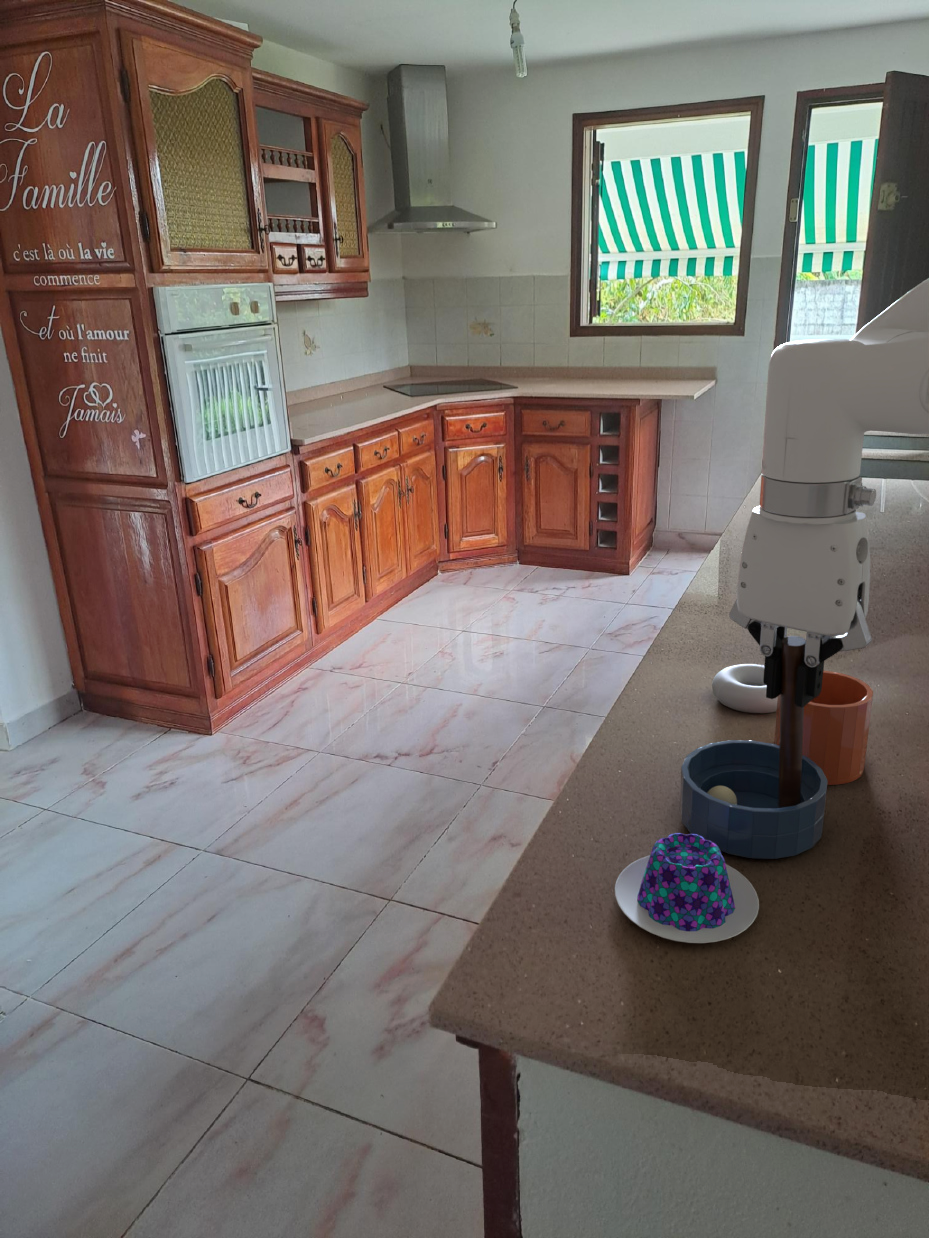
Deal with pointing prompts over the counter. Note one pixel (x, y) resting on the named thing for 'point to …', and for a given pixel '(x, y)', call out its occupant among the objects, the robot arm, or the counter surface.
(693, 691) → the counter surface
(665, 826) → the counter surface
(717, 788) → the dough ball
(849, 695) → the crock
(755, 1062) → the counter surface
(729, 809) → the bowl
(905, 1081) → the counter surface
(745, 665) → the donut
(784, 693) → the stick
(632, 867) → the pudding
